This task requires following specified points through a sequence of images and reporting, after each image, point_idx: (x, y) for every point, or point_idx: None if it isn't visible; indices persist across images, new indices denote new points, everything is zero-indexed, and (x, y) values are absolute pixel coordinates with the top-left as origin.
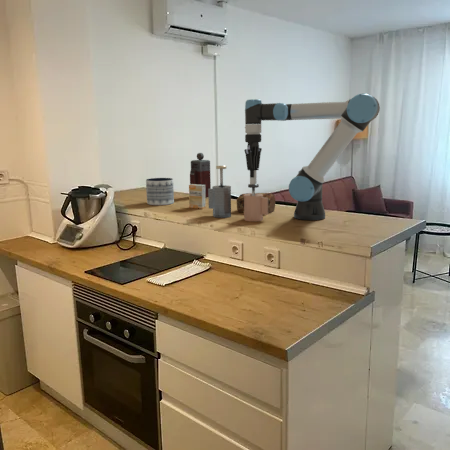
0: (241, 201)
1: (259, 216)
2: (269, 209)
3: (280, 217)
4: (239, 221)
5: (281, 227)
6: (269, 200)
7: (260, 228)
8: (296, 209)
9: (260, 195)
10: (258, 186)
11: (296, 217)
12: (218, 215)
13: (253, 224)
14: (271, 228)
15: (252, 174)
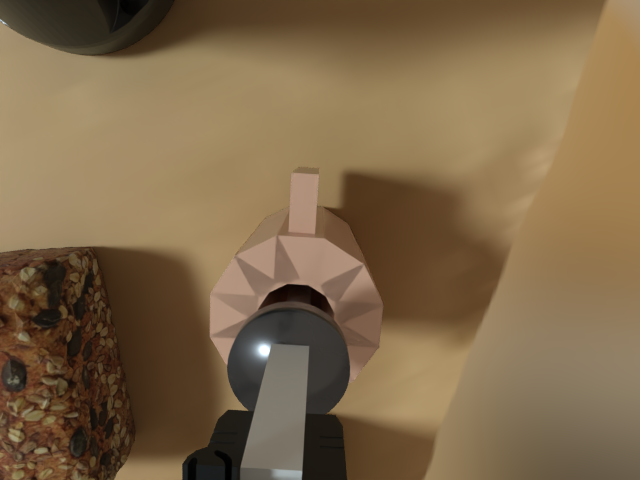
0: (101, 459)
1: (329, 215)
2: (80, 251)
3: (173, 132)
4: (389, 308)
5: (460, 6)
6: (38, 268)
7: (528, 118)
8: (106, 5)
9: (304, 248)
10: (281, 304)
11: (166, 7)
12: None
13: (437, 201)
14: (507, 55)
15: (342, 449)
